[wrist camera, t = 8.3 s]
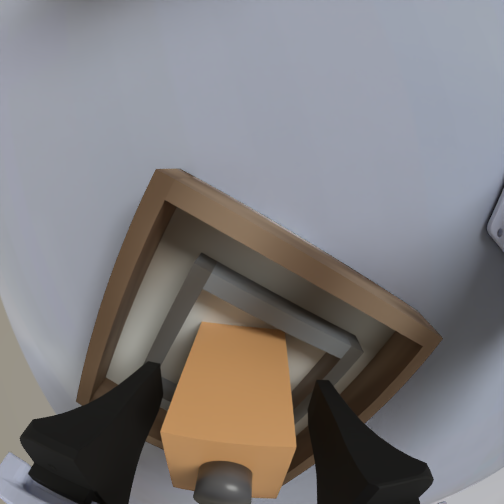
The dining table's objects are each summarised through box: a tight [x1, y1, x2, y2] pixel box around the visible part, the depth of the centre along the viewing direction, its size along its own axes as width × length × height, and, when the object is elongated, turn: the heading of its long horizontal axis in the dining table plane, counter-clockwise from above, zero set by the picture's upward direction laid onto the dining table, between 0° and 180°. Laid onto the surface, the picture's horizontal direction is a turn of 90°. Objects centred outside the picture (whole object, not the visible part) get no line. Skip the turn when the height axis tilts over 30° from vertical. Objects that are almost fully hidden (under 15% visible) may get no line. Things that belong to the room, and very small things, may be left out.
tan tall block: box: [160, 322, 296, 504], centre depth 10 cm, size 4×4×8 cm
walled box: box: [76, 169, 443, 486], centre depth 13 cm, size 14×14×3 cm
